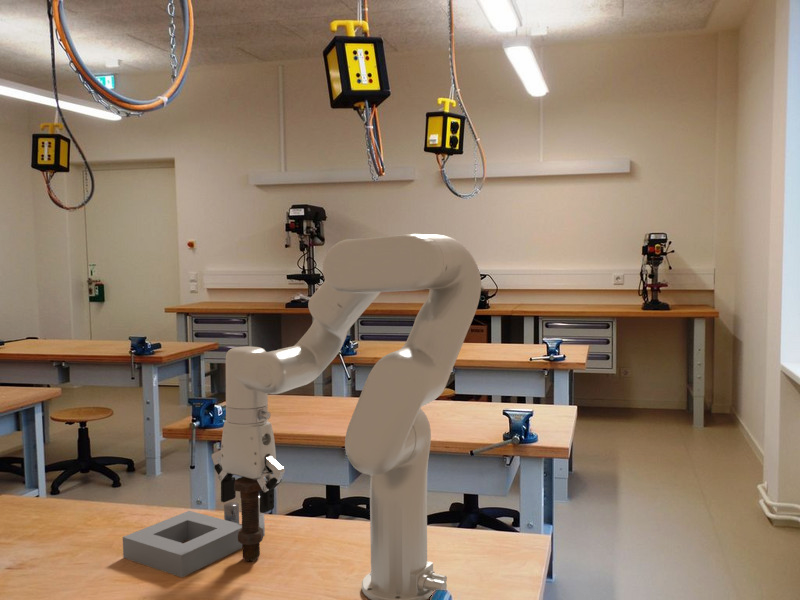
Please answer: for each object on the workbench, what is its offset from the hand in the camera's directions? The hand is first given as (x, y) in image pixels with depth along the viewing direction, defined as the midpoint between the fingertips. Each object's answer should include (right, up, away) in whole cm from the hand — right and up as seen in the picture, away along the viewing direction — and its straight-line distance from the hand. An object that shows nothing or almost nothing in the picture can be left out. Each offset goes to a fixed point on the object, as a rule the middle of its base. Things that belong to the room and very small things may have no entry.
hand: (247, 505), depth 134 cm
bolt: (+1, -10, 0) cm, 10 cm away
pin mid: (0, -9, +12) cm, 15 cm away
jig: (-12, -10, +4) cm, 16 cm away
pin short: (-6, -9, +15) cm, 19 cm away
